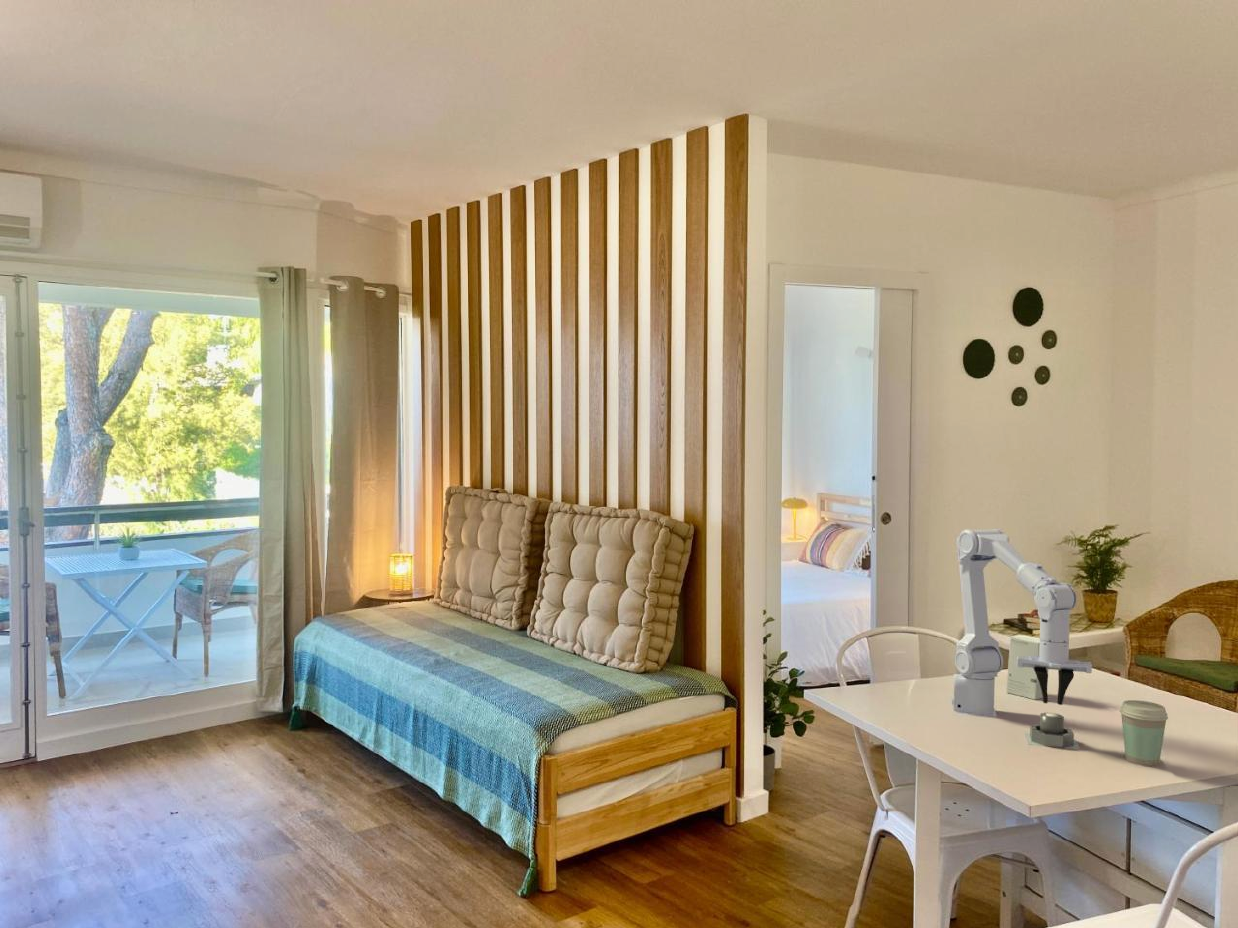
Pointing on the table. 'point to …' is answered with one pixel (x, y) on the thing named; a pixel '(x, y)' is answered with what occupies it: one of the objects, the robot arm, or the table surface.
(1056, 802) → the table surface
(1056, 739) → the octagonal ring mount
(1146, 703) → the coffee cup
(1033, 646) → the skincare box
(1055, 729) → the cap
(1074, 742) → the plate
